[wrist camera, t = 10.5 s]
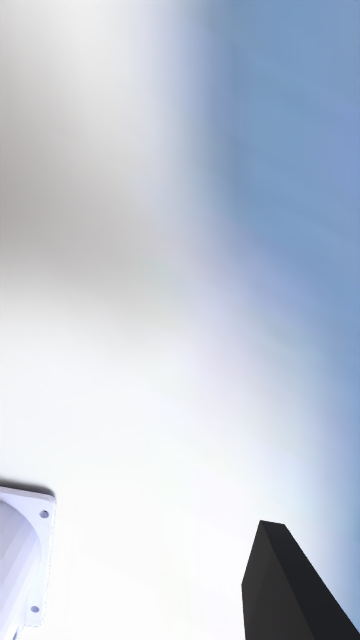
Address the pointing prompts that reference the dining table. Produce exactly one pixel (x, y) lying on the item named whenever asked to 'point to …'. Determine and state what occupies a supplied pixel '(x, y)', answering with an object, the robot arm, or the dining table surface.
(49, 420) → the dining table surface
